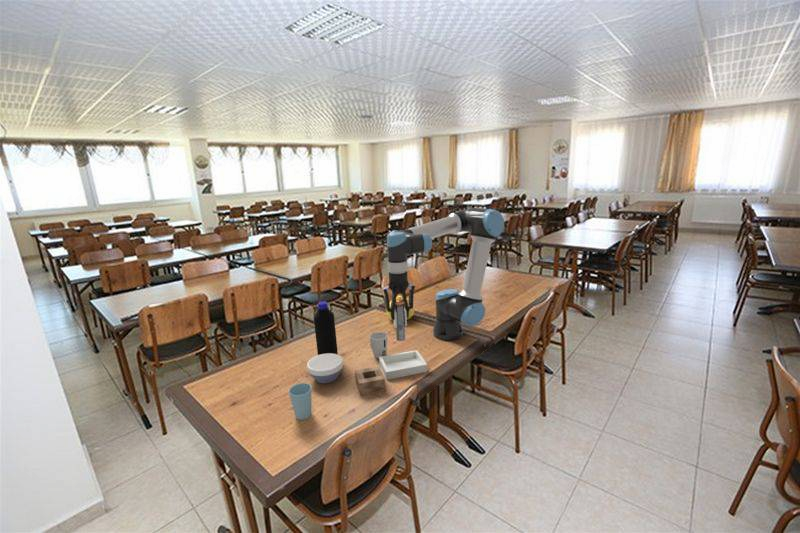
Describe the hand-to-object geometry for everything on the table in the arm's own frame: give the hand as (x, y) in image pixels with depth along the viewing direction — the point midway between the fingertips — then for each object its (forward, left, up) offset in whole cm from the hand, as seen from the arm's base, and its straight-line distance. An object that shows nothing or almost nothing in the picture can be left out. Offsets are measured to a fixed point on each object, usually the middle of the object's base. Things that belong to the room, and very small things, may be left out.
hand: (400, 325), depth 155 cm
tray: (0, 0, -19) cm, 19 cm away
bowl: (+32, -3, -20) cm, 38 cm away
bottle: (+30, -17, -20) cm, 40 cm away
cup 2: (+7, -14, -20) cm, 25 cm away
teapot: (-12, -51, -20) cm, 56 cm away
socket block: (+16, +9, -19) cm, 27 cm away
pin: (0, 0, -6) cm, 6 cm away
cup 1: (+42, +19, -20) cm, 50 cm away
